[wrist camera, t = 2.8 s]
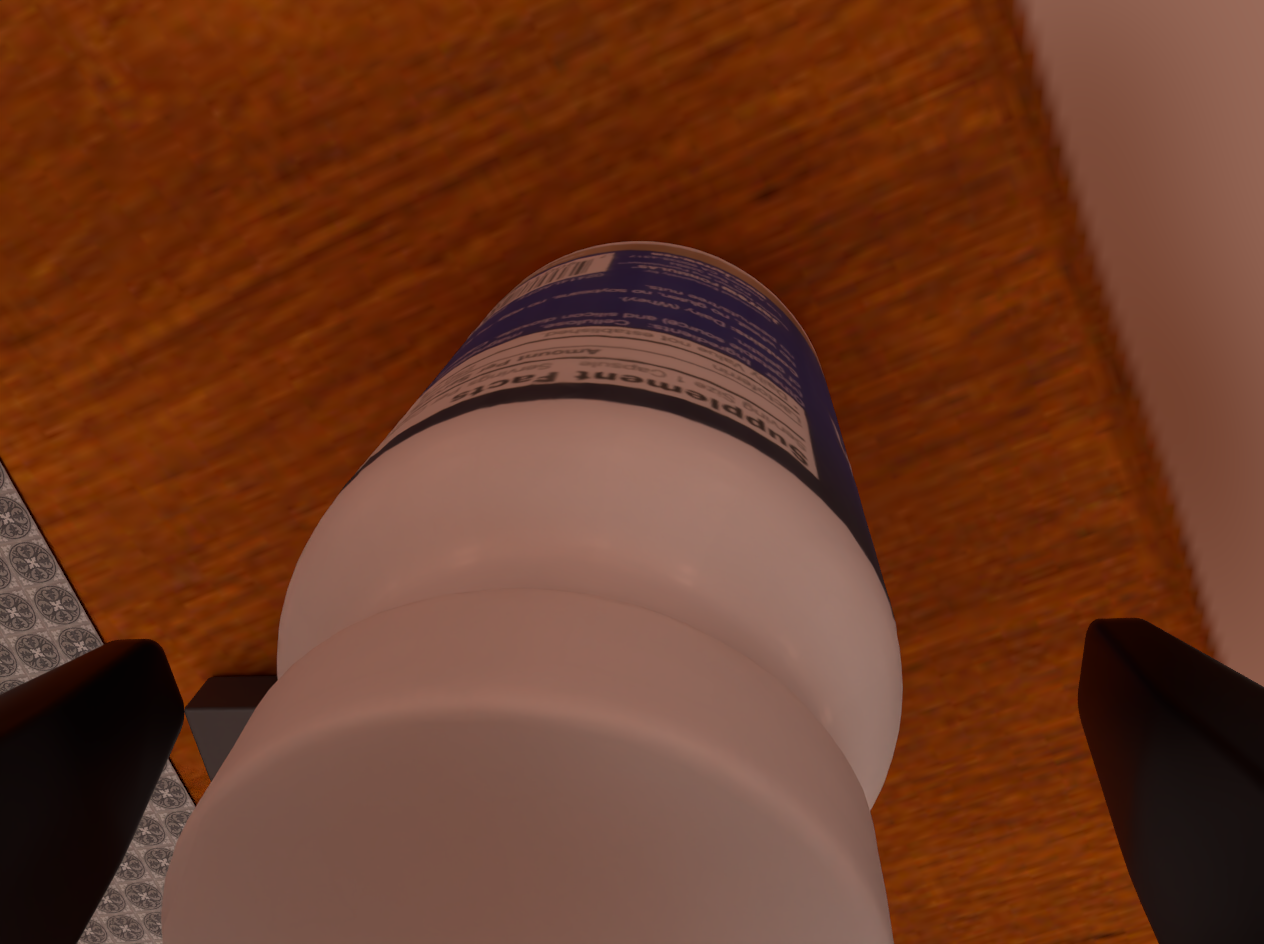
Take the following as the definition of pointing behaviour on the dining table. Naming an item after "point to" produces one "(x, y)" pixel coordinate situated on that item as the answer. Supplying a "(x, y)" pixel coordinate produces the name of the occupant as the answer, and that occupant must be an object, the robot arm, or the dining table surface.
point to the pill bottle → (575, 649)
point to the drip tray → (223, 714)
